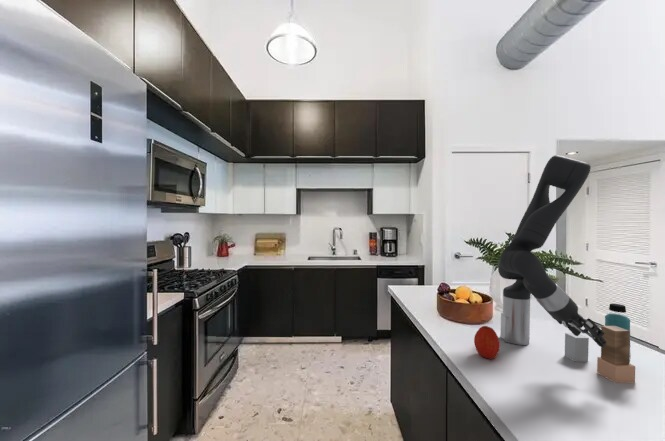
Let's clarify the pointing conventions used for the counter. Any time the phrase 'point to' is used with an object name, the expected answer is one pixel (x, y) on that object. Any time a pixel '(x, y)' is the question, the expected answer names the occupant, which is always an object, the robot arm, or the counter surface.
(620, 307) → the beverage bottle
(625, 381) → the terracotta block
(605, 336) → the tan rectangular block
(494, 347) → the red ellipsoid
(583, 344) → the grey post
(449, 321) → the counter surface
